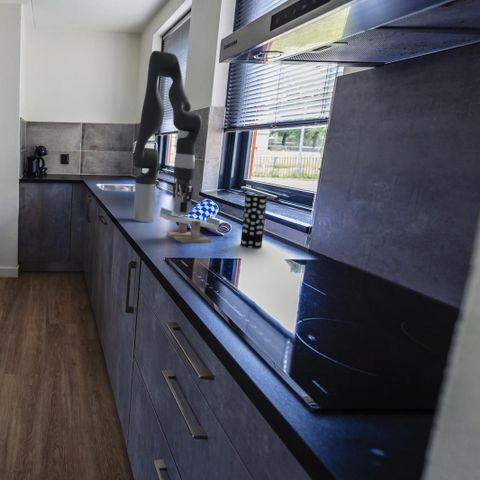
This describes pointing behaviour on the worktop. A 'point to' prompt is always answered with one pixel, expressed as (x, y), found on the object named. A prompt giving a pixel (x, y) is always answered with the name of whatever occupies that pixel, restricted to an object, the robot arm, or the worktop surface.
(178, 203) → the steel weight
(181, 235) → the pivot stand
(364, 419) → the worktop surface
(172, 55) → the robot arm
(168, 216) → the beam
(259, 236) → the spotted tube
